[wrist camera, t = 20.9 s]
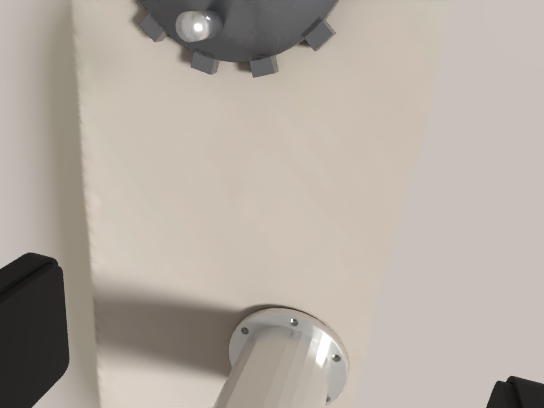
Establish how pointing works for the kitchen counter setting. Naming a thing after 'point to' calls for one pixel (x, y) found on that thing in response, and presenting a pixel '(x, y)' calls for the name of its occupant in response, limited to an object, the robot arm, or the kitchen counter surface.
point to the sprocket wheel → (239, 29)
